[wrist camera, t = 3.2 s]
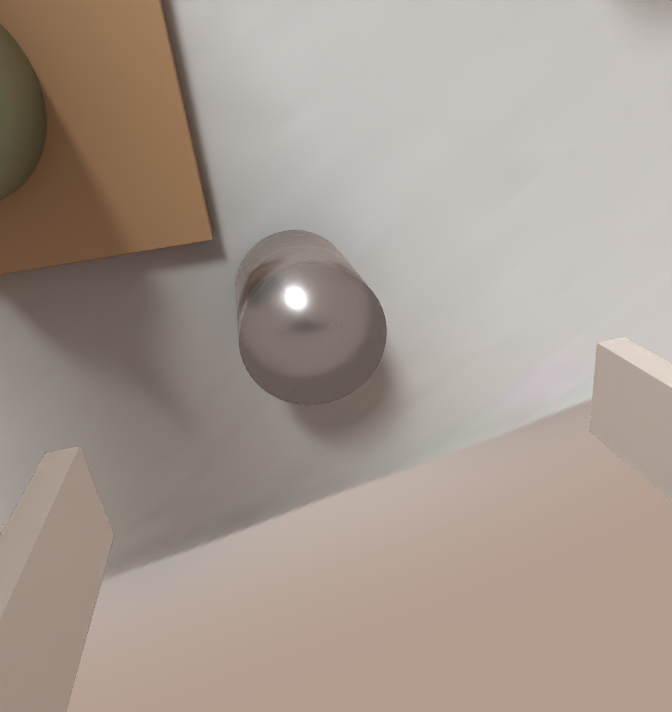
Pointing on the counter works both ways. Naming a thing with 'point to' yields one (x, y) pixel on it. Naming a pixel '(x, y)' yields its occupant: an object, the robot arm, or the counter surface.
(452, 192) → the counter surface
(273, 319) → the cap
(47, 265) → the brown board with cylinder
